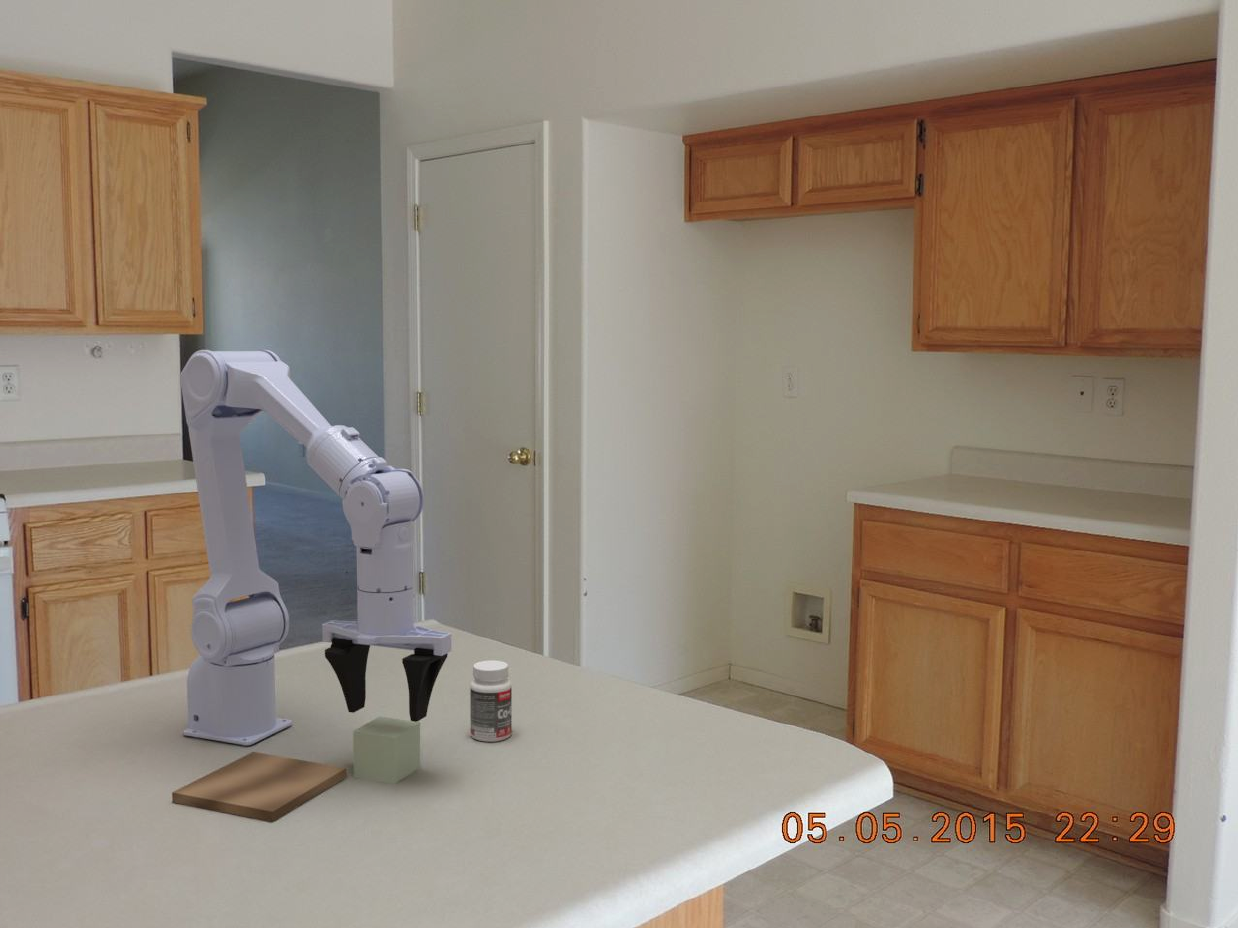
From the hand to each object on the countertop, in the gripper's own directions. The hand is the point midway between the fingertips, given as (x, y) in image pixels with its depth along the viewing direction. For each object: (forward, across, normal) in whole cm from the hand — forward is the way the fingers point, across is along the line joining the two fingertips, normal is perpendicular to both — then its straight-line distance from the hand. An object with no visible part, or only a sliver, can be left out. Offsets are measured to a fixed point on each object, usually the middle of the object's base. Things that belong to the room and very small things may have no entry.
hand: (387, 714), depth 119 cm
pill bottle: (+6, +5, +14) cm, 16 cm away
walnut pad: (+6, -9, -9) cm, 14 cm away
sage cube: (+6, 0, 0) cm, 6 cm away
